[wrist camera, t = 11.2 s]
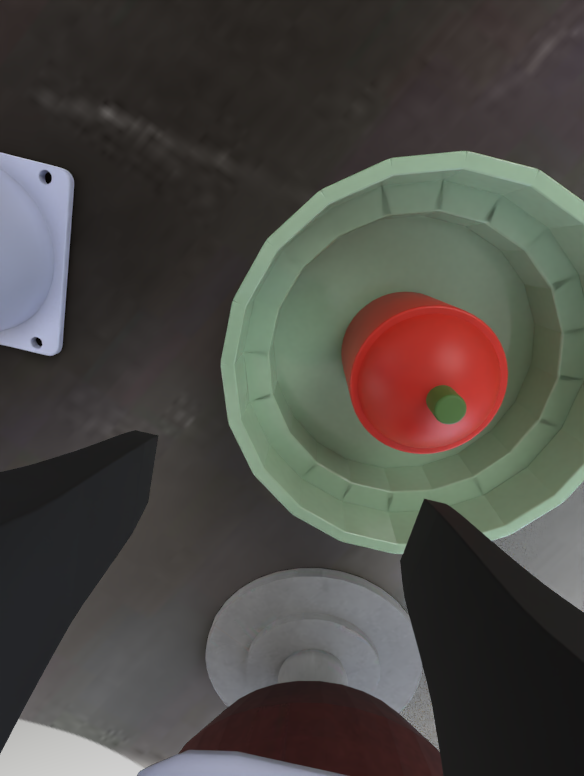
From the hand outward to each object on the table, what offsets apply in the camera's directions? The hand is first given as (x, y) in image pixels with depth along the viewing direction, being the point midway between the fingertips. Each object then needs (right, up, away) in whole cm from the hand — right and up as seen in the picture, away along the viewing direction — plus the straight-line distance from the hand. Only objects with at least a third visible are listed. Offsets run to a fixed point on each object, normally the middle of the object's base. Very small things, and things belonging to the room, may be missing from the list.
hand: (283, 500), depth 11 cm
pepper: (+5, +5, +8) cm, 10 cm away
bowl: (+5, +5, +8) cm, 11 cm away
